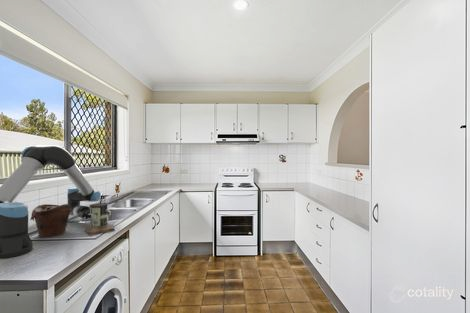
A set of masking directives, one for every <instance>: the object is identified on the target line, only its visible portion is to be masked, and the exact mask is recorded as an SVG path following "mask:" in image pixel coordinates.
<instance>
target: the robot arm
mask: <svg viewBox="0 0 470 313" xmlns="http://www.w3.org/2000/svg"><path fill="white" fill-rule="evenodd" d="M20 157H21V159H20V165H19V166H18V167H17V168H16V169H15V170H14V171H13V172H12V173H11V174H10V176H9V177H8V178H7V179H6V180H5V181H4V182H3V183H2V184H1V185H0V259H1V260H2V259H9V258H14V257H19V256H22V255H24V254H28V253H30V252H31V251H32V250H33V249H34V248H33V247H34V246H33V245H34V244H33V242H32V240H31V237H30V235H29V208H28V205H27V204H26V203H25V202H18V201H15V200H16V198H17V197H18V196H19V195H20V193H21V192H22V191H23V189H25V187H26V186H27V185H28V184H29V183H30V181H31V180H32V179H33V178H34V177H35V175H36V174H37V173H38V172H42V171H43V170H44V169H45V167H46V166H52V165H53V166H56V167H58V169H59V170H61V171H63V172H64V174H65V175H66V176H67V178H68V179H69V180H70V181H71V183H72V184H73V185H74V186H75V187H69V188H68V189H67V194H66V195H67V204H69V205H70V207H71V210H72V212H70V213H69V216H75V217H78V218H81V219H85V220H88V219H90V218H91V219H96V215H95V214H90V206H87V205H81V202H92V203H93V202H98V201H100V199H101V195H102V194H101V191H99V190H95V189H94V188H93V187H92V185H91V184H90V182H89V181H88V180H87V179H86V177H85V176H84V174H83V173H82V171H81V170H80V168H79V167H78V165H77V164H76V159H75V157H73V155H72V154H71V153H70V152H69V151H67V150H66V149H65V148H63V147H62V146H59V145H55V144H53V145H52V144H51V145H50V144H48V145H47V144H45V145H43V144H42V145H40V144H35V145H34V144H33V145H28V146H27V147H25V148H24V149H23V150H22V152H21V156H20ZM111 215H112V211H111V210H109V209H107V216H111Z"/></svg>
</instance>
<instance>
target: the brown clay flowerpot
mask: <svg viewBox="0 0 470 313" xmlns="http://www.w3.org/2000/svg"><path fill="white" fill-rule="evenodd" d="M70 212H72V210H71V207H70V205H69V204H68V203H65V204H61V205H59V204H51V203H50V204H46V203H45V204H40V205H37V206H36V207H34V209H32V211H31V217H30V218H29V219H30V221H33V222H35V225H36V230H37V233H38V237H41V238H50V237H56V236H60V235H63V234H65V233H66V231H67V230H66V229H67V226H68V222H69V217H70V215H69V213H70Z"/></svg>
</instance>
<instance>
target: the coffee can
mask: <svg viewBox="0 0 470 313" xmlns="http://www.w3.org/2000/svg"><path fill="white" fill-rule="evenodd" d="M89 208H90V214H95V215H96V219H91V218H89V228H91V227H97V226H104V225H109V224H108V215H107V210H108V203H106V202H100V203H99V202H97V203H92V204H90V205H89Z"/></svg>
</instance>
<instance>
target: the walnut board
mask: <svg viewBox="0 0 470 313" xmlns="http://www.w3.org/2000/svg"><path fill="white" fill-rule="evenodd" d="M84 231H85V233H86V234H87V235H88V236H93V235H99V234H105V233H109V232H115V231H116V230H115V227H114V226H113V225H111V224H108V225H104V226H97V227H91V228H90V227H86V228H84Z"/></svg>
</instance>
